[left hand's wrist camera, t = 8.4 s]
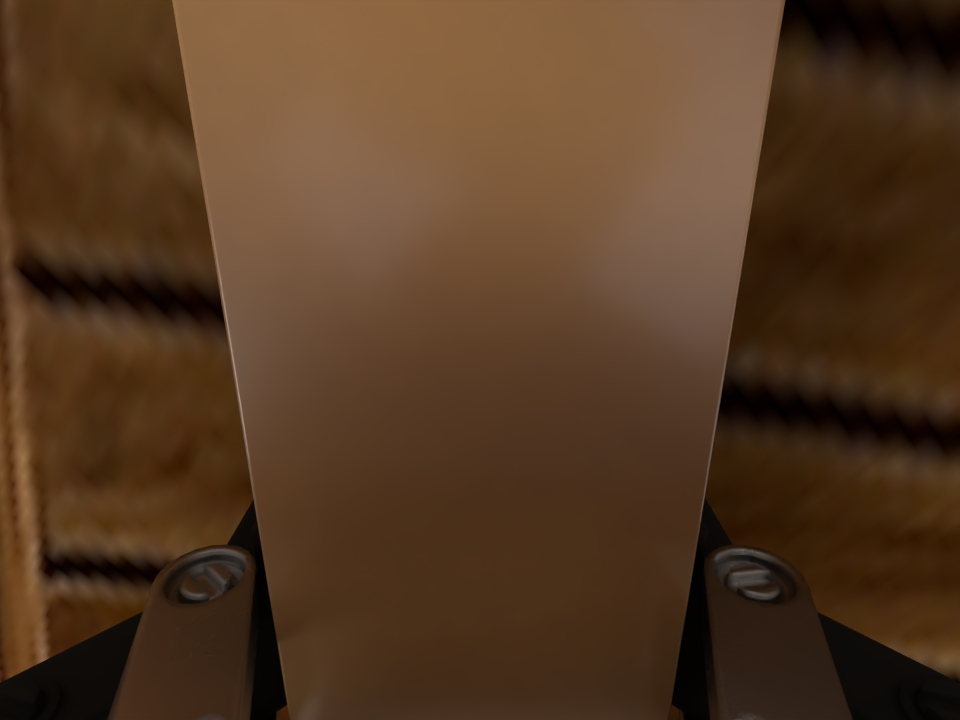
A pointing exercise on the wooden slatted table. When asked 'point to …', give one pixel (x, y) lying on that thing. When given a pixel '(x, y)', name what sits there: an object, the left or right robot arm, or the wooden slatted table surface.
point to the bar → (478, 331)
